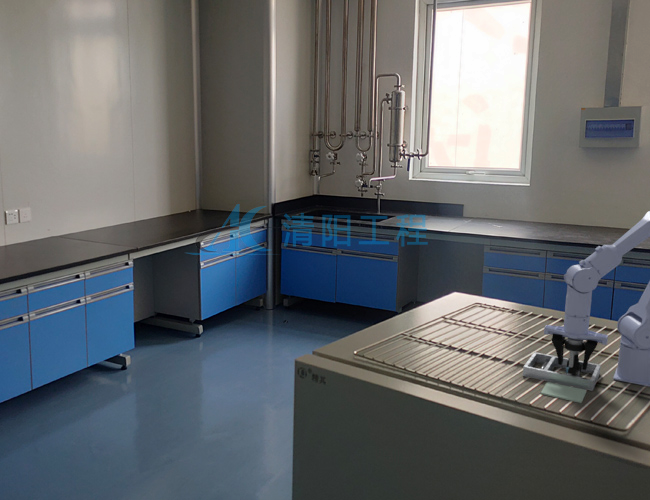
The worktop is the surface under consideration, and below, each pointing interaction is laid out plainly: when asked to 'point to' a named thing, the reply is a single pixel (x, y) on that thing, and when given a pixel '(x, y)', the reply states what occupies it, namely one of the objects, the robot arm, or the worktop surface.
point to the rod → (544, 365)
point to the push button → (574, 355)
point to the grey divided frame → (559, 377)
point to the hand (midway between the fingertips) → (572, 365)
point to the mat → (564, 392)
